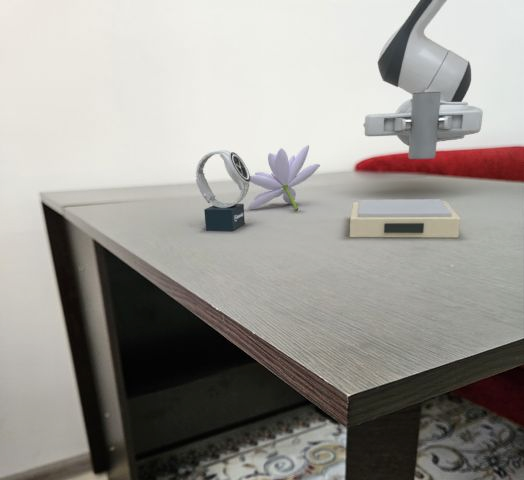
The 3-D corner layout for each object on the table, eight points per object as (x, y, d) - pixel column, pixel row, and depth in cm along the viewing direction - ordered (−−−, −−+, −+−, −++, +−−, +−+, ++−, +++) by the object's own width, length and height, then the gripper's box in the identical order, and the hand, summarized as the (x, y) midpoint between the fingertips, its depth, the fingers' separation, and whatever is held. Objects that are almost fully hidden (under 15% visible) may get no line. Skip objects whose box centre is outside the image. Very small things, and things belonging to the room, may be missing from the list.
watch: (245, 231, 77) (241, 151, 72) (195, 230, 79) (188, 153, 75) (256, 224, 82) (253, 149, 77) (209, 223, 84) (203, 150, 79)
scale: (444, 218, 80) (446, 198, 79) (458, 238, 68) (461, 214, 66) (352, 218, 83) (353, 198, 82) (349, 237, 70) (350, 215, 69)
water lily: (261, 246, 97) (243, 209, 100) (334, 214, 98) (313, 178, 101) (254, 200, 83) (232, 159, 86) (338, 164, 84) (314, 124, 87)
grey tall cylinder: (434, 159, 88) (440, 91, 84) (406, 159, 90) (411, 93, 86) (436, 156, 92) (441, 92, 88) (409, 157, 94) (414, 93, 90)
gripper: (364, 107, 101) (363, 106, 89) (475, 101, 97) (490, 100, 85) (362, 142, 104) (361, 146, 91) (471, 137, 100) (485, 141, 87)
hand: (425, 124), depth 88 cm, fingers closed on grey tall cylinder, 4 cm apart
